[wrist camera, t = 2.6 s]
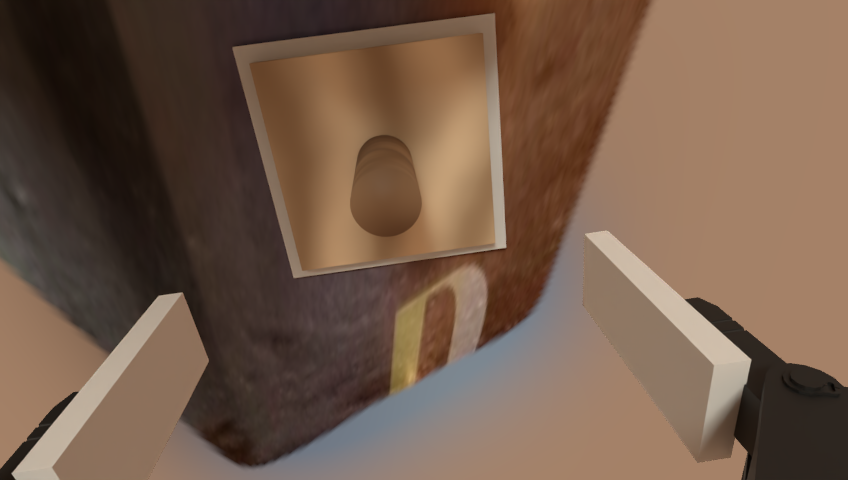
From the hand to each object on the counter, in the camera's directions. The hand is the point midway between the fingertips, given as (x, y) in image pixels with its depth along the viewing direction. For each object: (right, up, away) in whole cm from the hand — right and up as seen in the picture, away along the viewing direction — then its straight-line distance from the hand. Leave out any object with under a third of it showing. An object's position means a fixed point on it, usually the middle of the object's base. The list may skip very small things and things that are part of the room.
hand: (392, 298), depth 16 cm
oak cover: (-2, +7, +16) cm, 18 cm away
